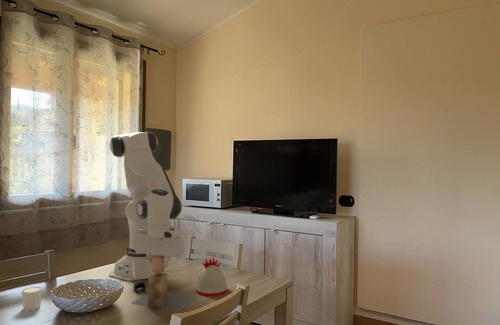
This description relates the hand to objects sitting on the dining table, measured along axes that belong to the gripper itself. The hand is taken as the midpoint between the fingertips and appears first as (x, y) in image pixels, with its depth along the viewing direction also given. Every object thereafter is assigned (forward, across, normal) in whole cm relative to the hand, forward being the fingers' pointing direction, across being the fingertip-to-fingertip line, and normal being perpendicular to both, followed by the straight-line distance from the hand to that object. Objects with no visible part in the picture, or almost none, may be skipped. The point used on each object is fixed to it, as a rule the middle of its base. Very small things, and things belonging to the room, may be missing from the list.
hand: (158, 266), depth 144 cm
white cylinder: (+16, -44, -18) cm, 50 cm away
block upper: (+10, 0, 0) cm, 10 cm away
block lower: (+15, 0, 0) cm, 16 cm away
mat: (+16, 0, +6) cm, 17 cm away
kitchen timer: (+16, +13, +23) cm, 31 cm away
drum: (+2, 0, 0) cm, 2 cm away
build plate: (+17, -16, +11) cm, 26 cm away
